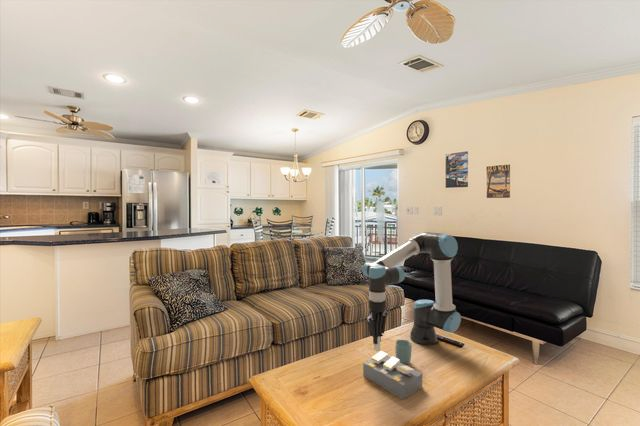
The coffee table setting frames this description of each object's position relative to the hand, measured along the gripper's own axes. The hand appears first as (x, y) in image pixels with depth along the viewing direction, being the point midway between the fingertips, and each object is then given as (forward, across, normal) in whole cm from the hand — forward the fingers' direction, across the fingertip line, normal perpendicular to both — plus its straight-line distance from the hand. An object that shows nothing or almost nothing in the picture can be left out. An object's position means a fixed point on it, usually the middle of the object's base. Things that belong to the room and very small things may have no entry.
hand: (377, 349), depth 142 cm
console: (+13, -2, +7) cm, 14 cm away
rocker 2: (+6, -2, +7) cm, 9 cm away
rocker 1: (+6, -2, 0) cm, 6 cm away
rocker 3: (+6, -2, +14) cm, 15 cm away
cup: (+13, -20, 0) cm, 24 cm away
